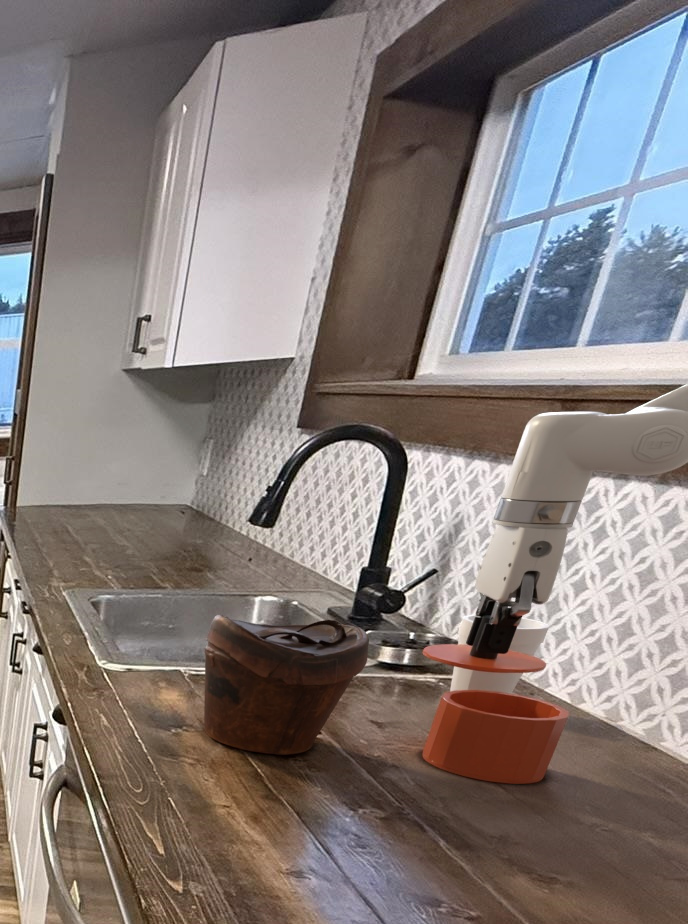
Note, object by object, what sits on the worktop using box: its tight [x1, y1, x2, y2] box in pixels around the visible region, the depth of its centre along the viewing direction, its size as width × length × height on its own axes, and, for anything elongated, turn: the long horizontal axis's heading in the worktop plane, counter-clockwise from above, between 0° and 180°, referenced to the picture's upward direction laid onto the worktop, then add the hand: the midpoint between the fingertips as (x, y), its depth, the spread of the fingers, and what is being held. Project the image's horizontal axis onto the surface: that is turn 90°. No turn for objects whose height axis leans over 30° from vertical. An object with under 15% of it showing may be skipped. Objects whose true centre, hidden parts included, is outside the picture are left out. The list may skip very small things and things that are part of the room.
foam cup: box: [449, 613, 550, 694], centre depth 126 cm, size 10×9×13 cm
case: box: [203, 614, 370, 756], centre depth 115 cm, size 18×20×18 cm
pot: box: [422, 690, 570, 785], centre depth 106 cm, size 12×12×8 cm
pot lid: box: [422, 615, 547, 674], centre depth 114 cm, size 13×13×7 cm
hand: (486, 647), depth 115 cm, fingers closed on pot lid, 2 cm apart
